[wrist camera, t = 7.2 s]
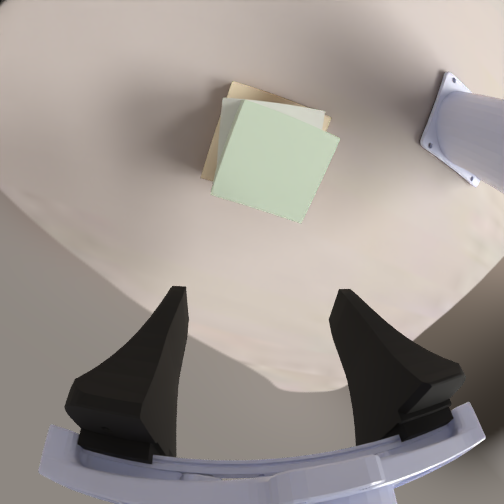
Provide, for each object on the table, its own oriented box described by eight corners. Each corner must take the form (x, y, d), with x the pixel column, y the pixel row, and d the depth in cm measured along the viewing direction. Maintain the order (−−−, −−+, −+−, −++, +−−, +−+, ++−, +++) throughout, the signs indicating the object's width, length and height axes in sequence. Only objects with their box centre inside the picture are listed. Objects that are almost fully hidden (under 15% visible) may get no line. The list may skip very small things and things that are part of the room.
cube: (313, 127, 15) (340, 138, 11) (285, 193, 17) (301, 223, 13) (241, 99, 14) (245, 99, 10) (215, 170, 16) (210, 194, 12)
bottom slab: (322, 115, 19) (331, 117, 17) (288, 195, 22) (294, 206, 20) (232, 83, 17) (232, 81, 15) (203, 170, 20) (200, 178, 18)
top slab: (314, 109, 16) (325, 111, 15) (301, 191, 19) (308, 202, 18) (223, 98, 16) (222, 97, 14) (216, 184, 19) (214, 194, 17)
